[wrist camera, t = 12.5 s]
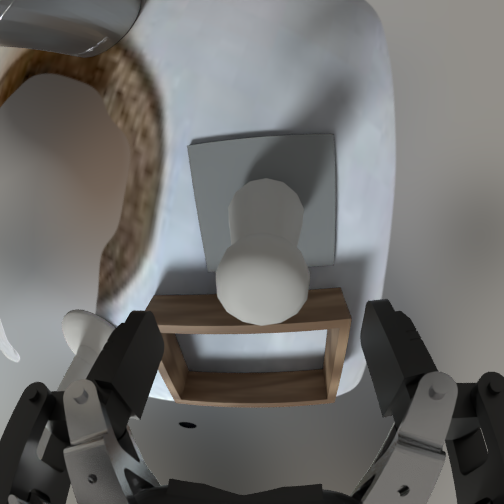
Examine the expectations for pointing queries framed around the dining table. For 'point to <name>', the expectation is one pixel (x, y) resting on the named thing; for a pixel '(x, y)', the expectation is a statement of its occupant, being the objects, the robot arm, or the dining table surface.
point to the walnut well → (221, 322)
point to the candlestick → (80, 351)
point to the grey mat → (272, 167)
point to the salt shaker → (263, 255)
